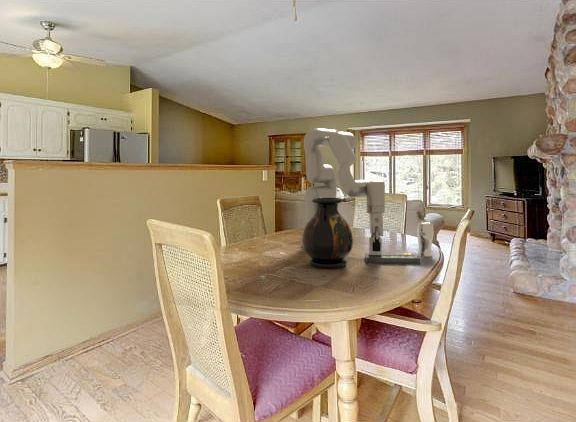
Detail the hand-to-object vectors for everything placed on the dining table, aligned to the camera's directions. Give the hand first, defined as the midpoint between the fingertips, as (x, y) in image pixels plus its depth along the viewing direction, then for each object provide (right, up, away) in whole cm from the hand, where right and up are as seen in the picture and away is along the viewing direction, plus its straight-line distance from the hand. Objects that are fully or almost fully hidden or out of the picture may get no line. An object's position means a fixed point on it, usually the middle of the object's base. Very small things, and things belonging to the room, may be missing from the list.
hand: (375, 248), depth 153 cm
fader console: (+7, -5, 0) cm, 9 cm away
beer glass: (+25, -4, +8) cm, 26 cm away
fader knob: (0, -2, 0) cm, 2 cm away
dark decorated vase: (-21, -6, -4) cm, 23 cm away
